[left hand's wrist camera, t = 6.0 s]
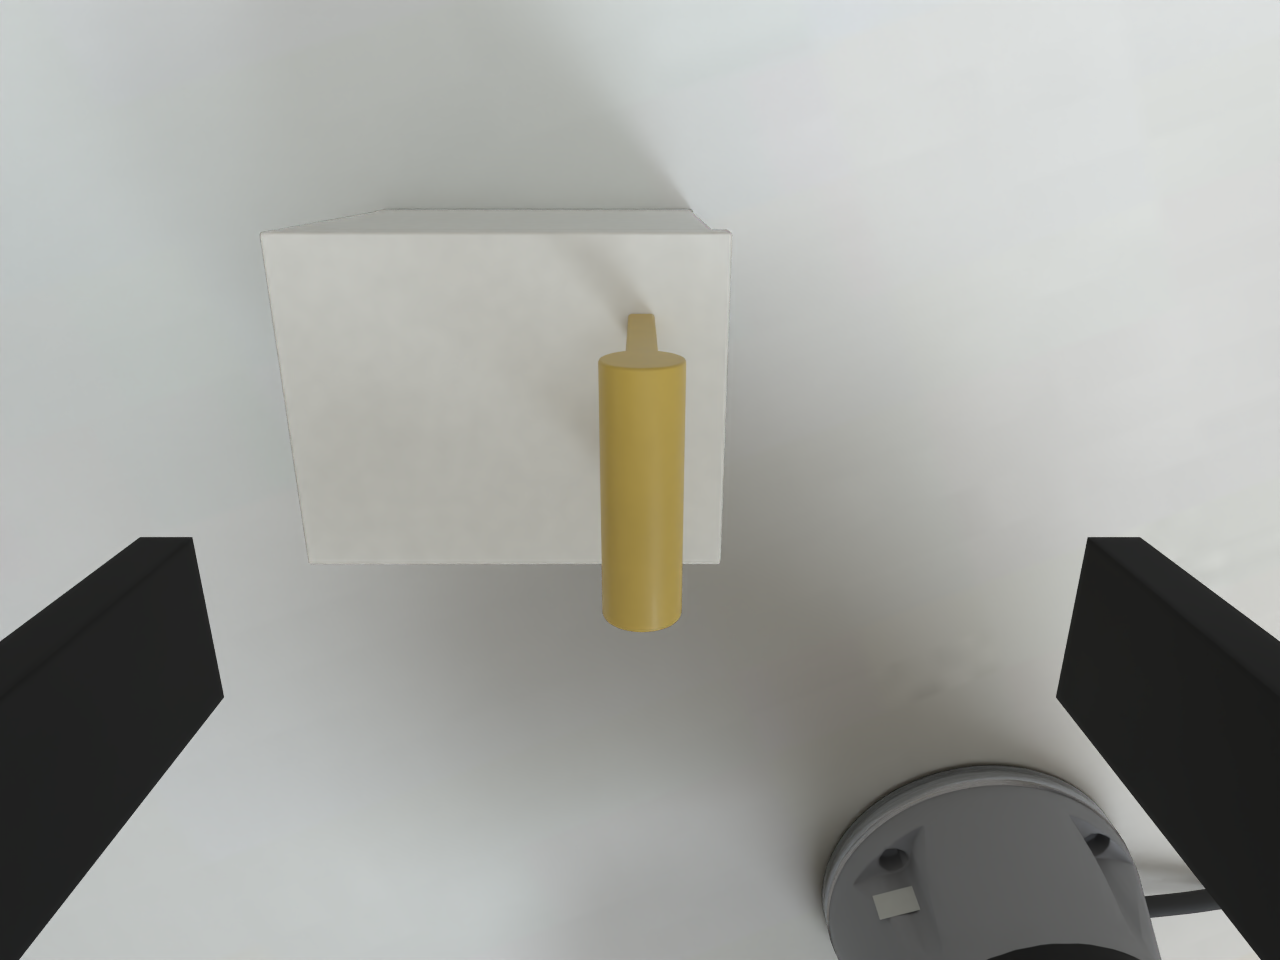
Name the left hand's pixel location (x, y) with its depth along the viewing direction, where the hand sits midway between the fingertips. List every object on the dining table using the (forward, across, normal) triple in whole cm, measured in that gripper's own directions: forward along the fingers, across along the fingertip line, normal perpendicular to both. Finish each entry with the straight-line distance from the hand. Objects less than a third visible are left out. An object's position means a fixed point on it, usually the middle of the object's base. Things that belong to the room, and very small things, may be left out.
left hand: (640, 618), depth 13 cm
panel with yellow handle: (+12, -4, 0) cm, 13 cm away
